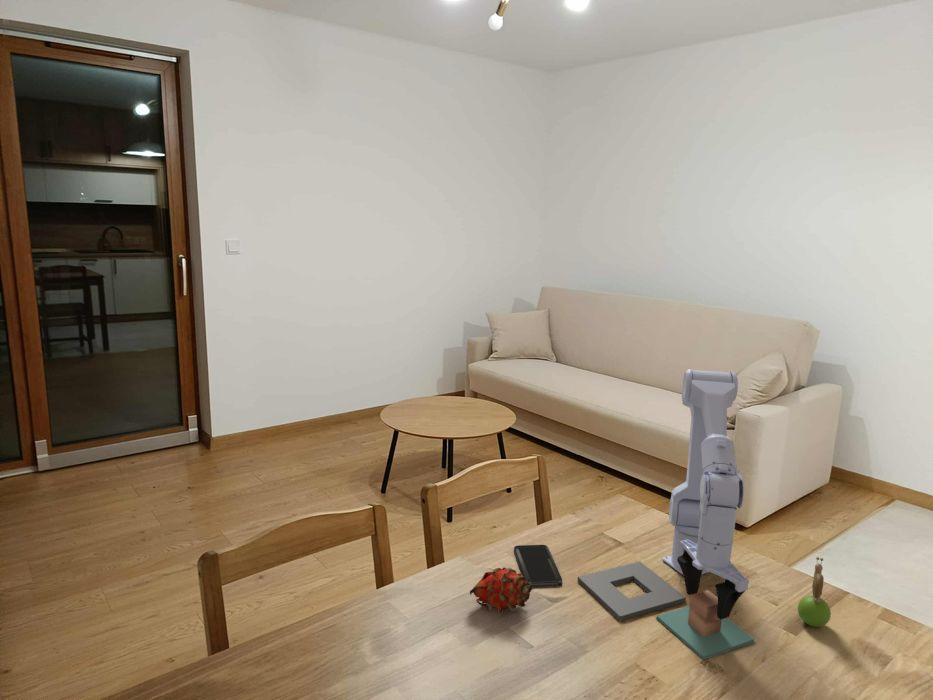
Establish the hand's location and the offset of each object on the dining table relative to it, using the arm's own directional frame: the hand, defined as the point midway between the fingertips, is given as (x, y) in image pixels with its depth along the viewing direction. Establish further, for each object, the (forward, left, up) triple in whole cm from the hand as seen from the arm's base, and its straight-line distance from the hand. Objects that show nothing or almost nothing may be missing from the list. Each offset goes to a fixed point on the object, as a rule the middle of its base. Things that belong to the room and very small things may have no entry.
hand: (707, 604), depth 115 cm
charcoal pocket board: (+5, -15, -5) cm, 17 cm away
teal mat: (0, 0, -5) cm, 5 cm away
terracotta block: (0, 0, -5) cm, 5 cm away
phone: (+18, -30, -6) cm, 35 cm away
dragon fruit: (+32, -20, -6) cm, 38 cm away
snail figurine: (-21, +6, -5) cm, 23 cm away
